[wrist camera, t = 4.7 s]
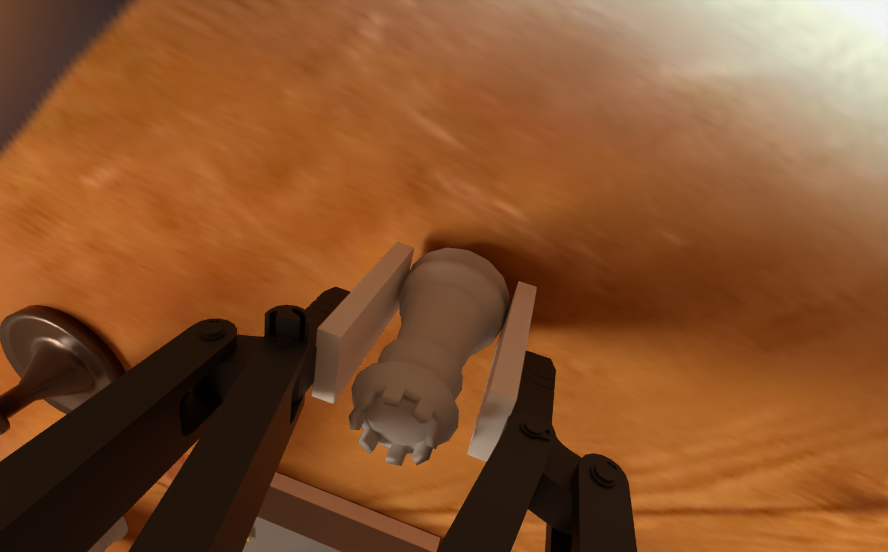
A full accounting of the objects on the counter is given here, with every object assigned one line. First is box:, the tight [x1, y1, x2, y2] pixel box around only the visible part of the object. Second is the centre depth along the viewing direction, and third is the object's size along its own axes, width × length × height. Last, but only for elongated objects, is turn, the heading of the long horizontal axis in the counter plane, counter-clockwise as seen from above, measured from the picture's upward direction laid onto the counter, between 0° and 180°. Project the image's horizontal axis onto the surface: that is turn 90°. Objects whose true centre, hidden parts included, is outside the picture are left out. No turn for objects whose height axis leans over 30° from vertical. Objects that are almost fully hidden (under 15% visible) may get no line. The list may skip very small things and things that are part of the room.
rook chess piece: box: [349, 247, 510, 466], centre depth 16 cm, size 4×4×8 cm
